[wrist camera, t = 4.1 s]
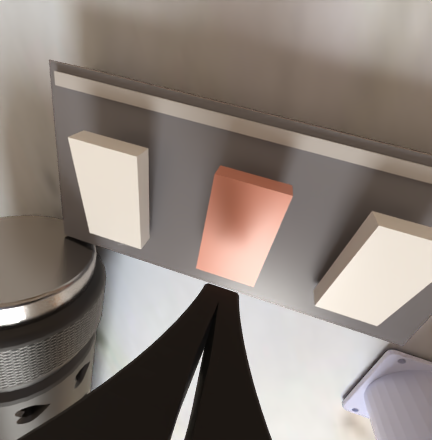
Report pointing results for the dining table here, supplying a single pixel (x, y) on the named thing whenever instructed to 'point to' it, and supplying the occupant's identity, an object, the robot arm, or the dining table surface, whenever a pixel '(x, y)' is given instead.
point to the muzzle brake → (45, 320)
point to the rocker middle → (241, 224)
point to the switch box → (250, 163)
